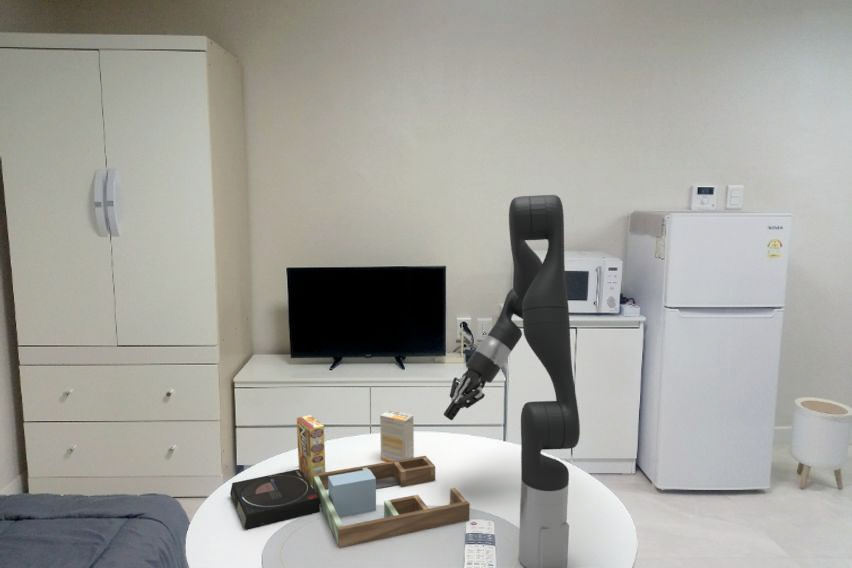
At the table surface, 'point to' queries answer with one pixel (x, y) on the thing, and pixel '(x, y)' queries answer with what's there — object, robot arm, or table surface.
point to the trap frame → (393, 503)
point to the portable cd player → (274, 498)
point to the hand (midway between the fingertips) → (447, 417)
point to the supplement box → (396, 436)
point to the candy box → (310, 447)
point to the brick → (353, 492)
